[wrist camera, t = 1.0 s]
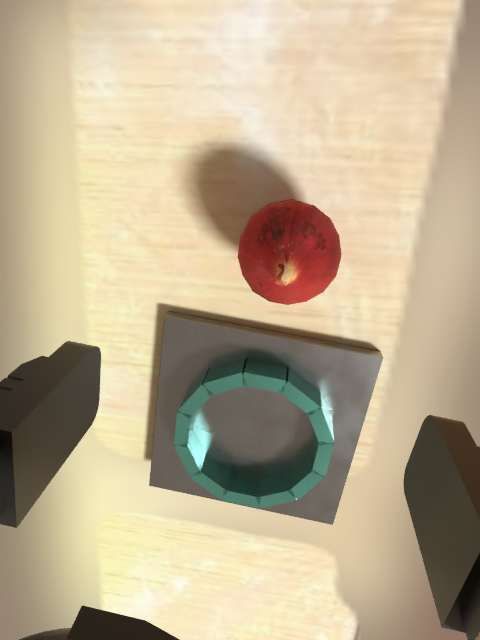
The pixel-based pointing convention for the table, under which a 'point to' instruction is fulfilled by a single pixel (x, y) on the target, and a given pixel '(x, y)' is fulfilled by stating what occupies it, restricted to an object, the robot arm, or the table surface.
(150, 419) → the table surface
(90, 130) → the table surface
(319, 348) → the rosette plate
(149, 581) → the table surface
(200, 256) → the table surface
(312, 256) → the onion
